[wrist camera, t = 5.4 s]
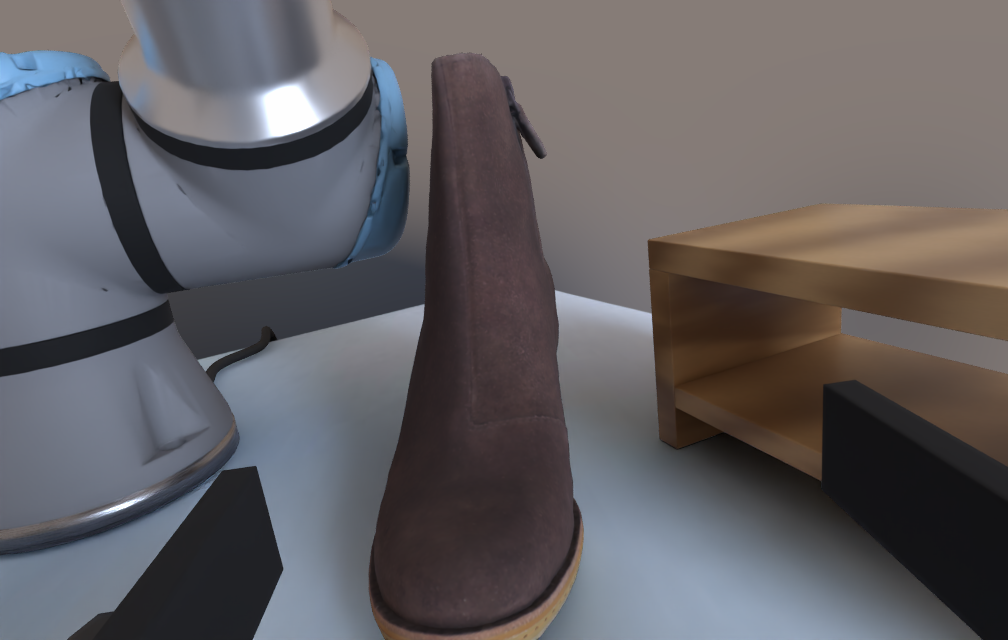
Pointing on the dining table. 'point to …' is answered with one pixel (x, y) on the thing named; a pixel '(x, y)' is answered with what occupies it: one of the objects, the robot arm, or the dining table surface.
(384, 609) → the boot
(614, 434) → the dining table surface
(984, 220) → the shoe rack
